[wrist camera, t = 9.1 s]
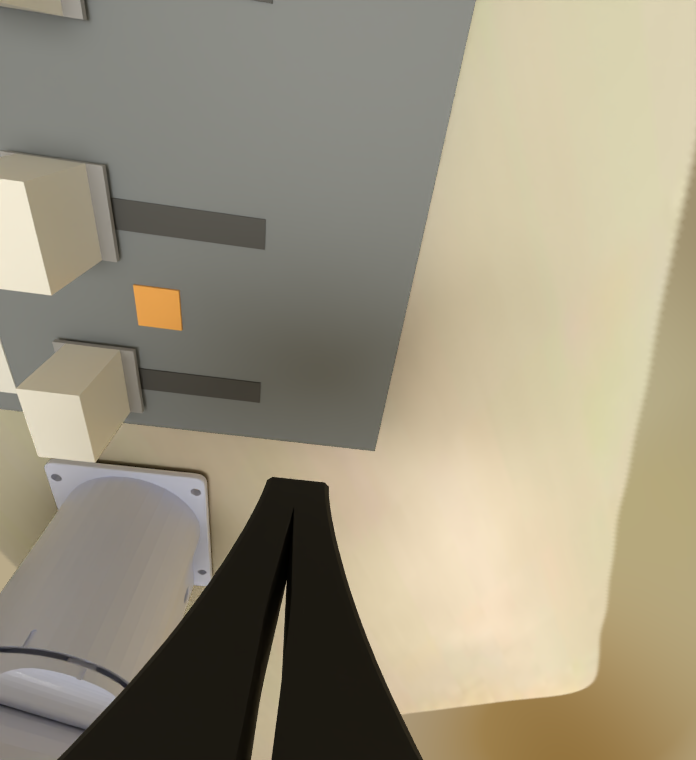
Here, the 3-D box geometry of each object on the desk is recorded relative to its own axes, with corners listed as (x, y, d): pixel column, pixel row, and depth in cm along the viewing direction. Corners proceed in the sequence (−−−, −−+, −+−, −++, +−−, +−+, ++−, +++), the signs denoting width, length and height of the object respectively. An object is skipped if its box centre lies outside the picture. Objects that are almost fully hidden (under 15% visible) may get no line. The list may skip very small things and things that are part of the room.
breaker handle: (144, 410, 19) (109, 464, 16) (71, 402, 19) (23, 455, 16) (135, 349, 17) (95, 397, 15) (54, 339, 17) (-1, 386, 14)
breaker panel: (373, 429, 22) (374, 452, 20) (-18, 384, 20) (-44, 405, 19) (487, -103, 12) (505, -128, 10) (-258, -244, 11) (-347, -291, 9)
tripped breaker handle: (119, 260, 15) (69, 297, 13) (28, 248, 15) (-42, 283, 13) (105, 164, 14) (44, 184, 11) (3, 149, 14) (-84, 166, 11)
